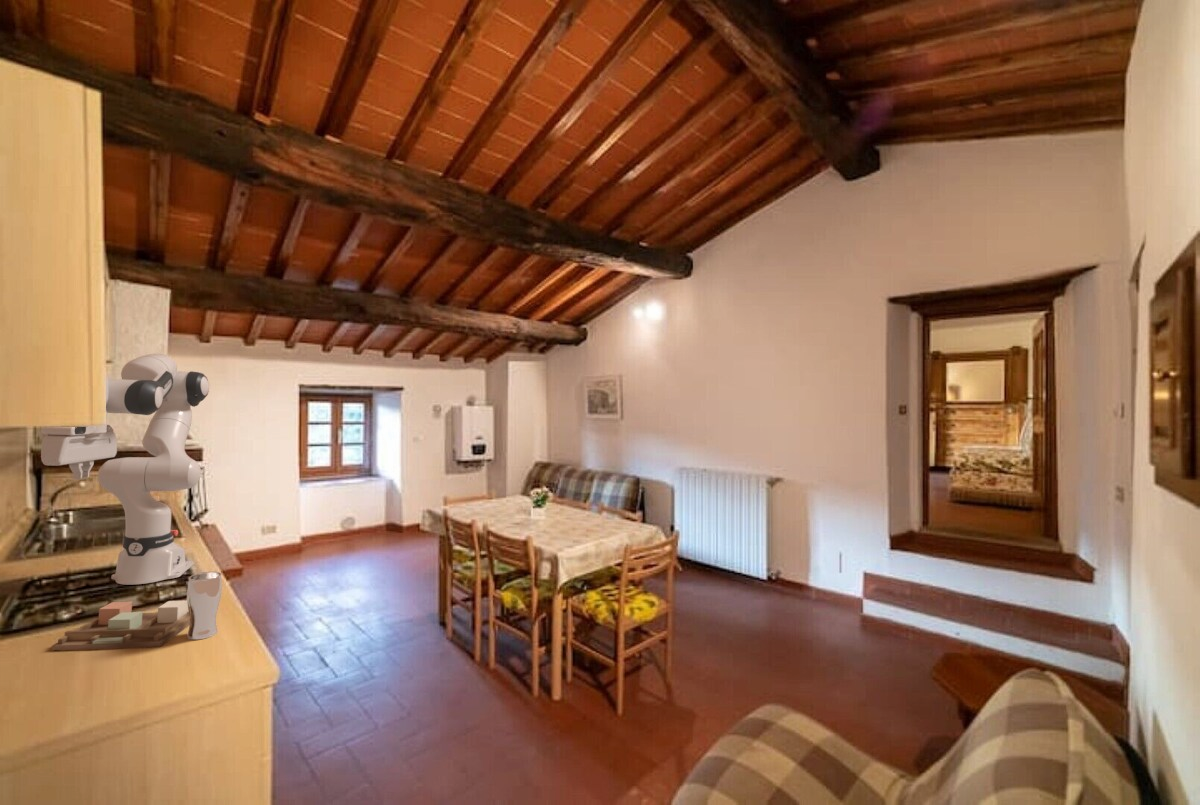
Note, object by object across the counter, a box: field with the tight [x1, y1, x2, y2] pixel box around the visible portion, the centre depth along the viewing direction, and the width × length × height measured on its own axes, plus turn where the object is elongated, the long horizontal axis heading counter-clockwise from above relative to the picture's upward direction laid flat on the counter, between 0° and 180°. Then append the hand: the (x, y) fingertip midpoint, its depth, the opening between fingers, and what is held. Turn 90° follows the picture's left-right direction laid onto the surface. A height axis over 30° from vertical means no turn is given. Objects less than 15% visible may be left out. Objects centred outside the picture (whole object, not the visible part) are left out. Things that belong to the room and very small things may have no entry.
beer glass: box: [186, 571, 223, 641], centre depth 131 cm, size 7×7×15 cm
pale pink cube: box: [157, 600, 188, 623], centre depth 136 cm, size 4×4×4 cm
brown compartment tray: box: [50, 611, 190, 652], centre depth 130 cm, size 18×22×3 cm
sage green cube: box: [108, 611, 143, 630], centre depth 127 cm, size 4×4×4 cm
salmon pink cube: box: [98, 601, 133, 625], centre depth 133 cm, size 4×4×4 cm
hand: (80, 478), depth 136 cm, fingers closed
